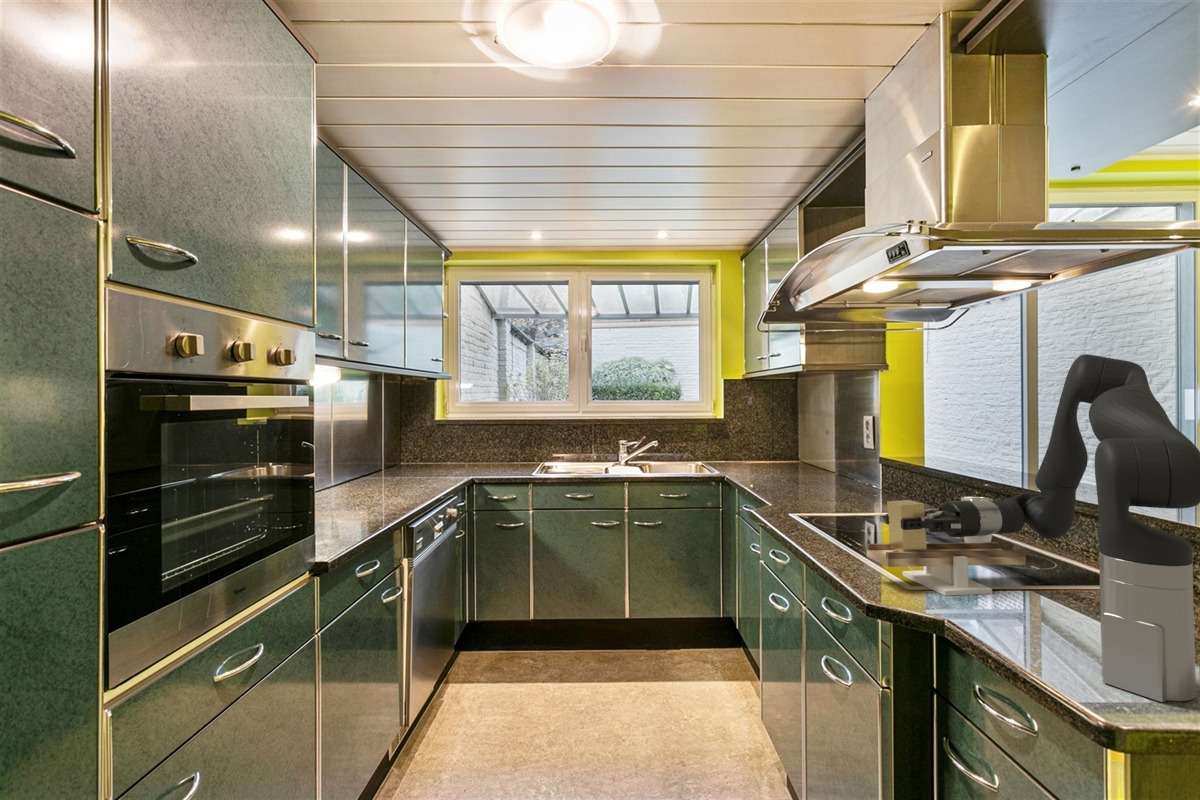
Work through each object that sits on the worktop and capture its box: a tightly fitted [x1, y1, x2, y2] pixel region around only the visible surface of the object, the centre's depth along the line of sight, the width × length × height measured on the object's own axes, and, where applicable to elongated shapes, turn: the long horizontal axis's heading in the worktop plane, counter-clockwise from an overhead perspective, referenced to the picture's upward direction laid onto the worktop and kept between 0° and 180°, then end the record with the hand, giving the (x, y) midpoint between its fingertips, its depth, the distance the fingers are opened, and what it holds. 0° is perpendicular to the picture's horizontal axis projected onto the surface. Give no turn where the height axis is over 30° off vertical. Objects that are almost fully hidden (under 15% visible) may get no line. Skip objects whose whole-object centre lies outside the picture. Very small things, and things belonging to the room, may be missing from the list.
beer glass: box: [960, 495, 994, 543], centre depth 142 cm, size 7×7×15 cm
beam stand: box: [902, 556, 993, 597], centre depth 123 cm, size 10×14×7 cm
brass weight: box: [886, 499, 927, 552], centre depth 122 cm, size 5×5×10 cm
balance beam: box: [866, 541, 1027, 568], centre depth 123 cm, size 30×8×3 cm, turn 95°
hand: (894, 521), depth 122 cm, fingers closed on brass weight, 5 cm apart
